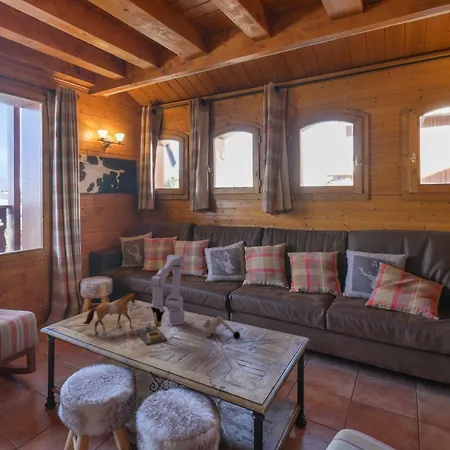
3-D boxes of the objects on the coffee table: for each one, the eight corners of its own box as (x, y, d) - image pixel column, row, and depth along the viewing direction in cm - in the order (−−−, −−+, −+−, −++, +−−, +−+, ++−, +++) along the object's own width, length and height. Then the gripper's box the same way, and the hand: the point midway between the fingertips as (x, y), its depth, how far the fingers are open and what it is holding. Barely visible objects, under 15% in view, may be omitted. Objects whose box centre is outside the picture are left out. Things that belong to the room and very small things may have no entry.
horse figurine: (136, 323, 207) (135, 291, 205) (138, 327, 200) (138, 295, 198) (83, 331, 193) (82, 298, 191) (84, 336, 186) (83, 302, 184)
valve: (223, 356, 185) (239, 339, 180) (197, 332, 186) (213, 315, 182) (227, 346, 195) (243, 331, 190) (203, 324, 196) (218, 308, 192)
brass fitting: (159, 323, 188) (159, 310, 187) (162, 326, 185) (162, 312, 184) (153, 325, 186) (153, 311, 185) (155, 327, 183) (155, 313, 182)
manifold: (155, 327, 200) (155, 317, 200) (167, 340, 182) (167, 330, 182) (135, 331, 194) (135, 321, 194) (146, 345, 176) (146, 334, 176)
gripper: (146, 294, 188) (147, 317, 189) (155, 301, 176) (155, 325, 177) (158, 293, 192) (158, 315, 193) (167, 299, 179) (167, 323, 180)
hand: (157, 320), depth 185 cm, fingers closed on brass fitting, 4 cm apart
